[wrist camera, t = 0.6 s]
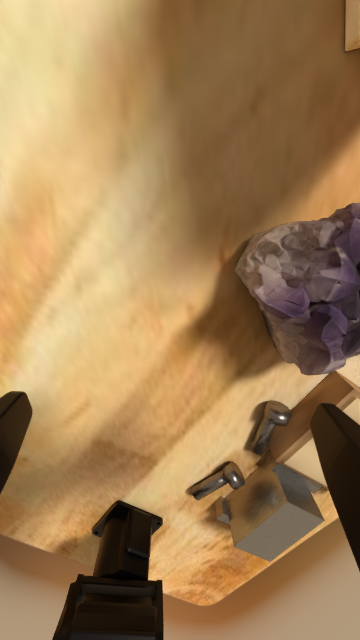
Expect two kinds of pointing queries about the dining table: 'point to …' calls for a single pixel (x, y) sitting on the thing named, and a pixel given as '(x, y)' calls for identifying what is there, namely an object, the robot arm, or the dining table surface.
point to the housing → (270, 510)
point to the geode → (309, 288)
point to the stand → (296, 438)
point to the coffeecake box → (352, 25)
